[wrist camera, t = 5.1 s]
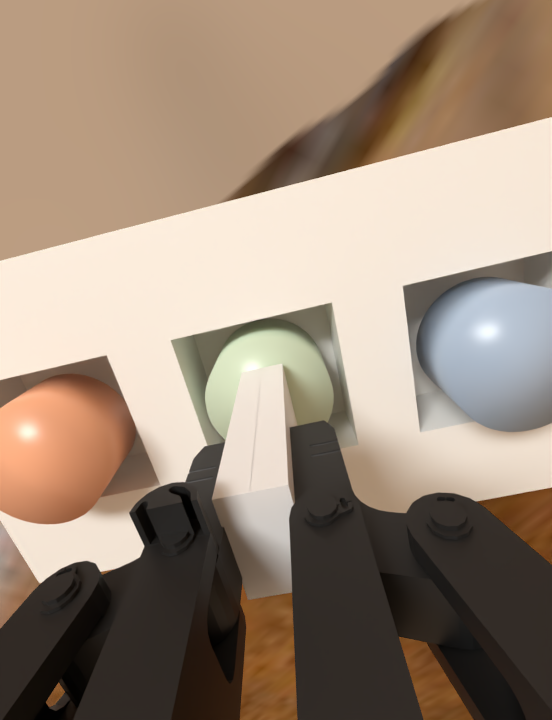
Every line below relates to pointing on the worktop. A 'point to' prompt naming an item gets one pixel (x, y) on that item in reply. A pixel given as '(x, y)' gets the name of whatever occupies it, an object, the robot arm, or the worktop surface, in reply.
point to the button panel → (298, 306)
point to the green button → (266, 348)
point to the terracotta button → (61, 448)
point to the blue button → (492, 351)
